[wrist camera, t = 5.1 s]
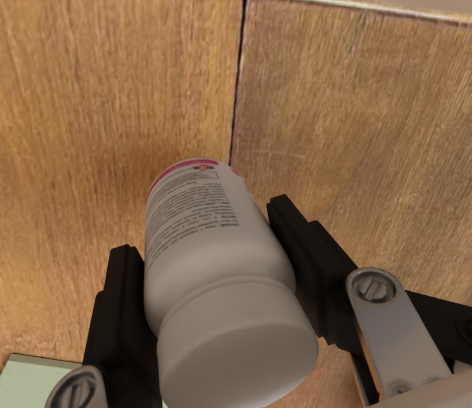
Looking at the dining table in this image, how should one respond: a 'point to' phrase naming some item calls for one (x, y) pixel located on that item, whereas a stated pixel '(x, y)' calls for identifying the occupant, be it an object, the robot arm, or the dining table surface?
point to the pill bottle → (220, 293)
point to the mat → (31, 380)
